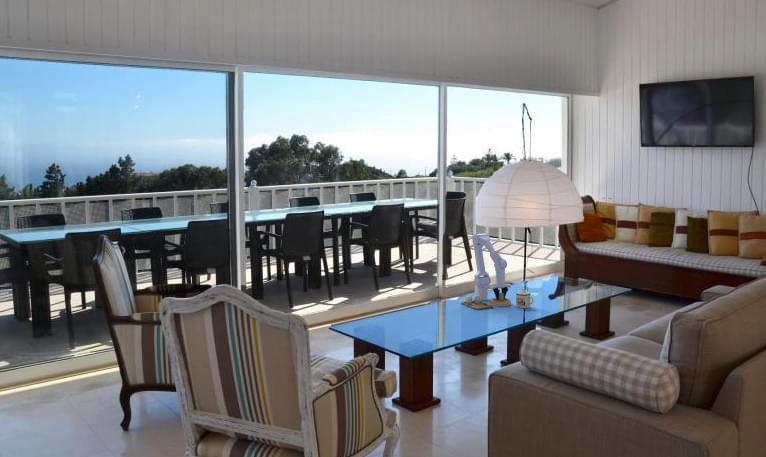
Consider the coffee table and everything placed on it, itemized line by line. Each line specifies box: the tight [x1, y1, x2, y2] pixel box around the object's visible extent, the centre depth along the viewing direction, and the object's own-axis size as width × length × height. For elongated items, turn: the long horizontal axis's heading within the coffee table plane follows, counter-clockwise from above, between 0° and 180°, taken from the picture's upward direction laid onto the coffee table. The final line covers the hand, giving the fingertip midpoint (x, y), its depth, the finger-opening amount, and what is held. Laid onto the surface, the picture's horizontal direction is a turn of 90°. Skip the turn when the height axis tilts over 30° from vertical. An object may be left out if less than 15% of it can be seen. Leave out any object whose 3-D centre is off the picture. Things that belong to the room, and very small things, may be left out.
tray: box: [460, 300, 495, 311], centre depth 452 cm, size 20×13×2 cm, turn 23°
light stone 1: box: [465, 295, 473, 305], centre depth 455 cm, size 4×4×6 cm
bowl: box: [489, 297, 512, 307], centre depth 456 cm, size 13×13×3 cm
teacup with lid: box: [515, 288, 535, 309], centre depth 448 cm, size 12×9×12 cm
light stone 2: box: [473, 294, 481, 305], centre depth 457 cm, size 4×4×6 cm
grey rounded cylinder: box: [497, 292, 504, 302], centre depth 456 cm, size 4×4×6 cm
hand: (500, 299), depth 456 cm, fingers closed on grey rounded cylinder, 4 cm apart
